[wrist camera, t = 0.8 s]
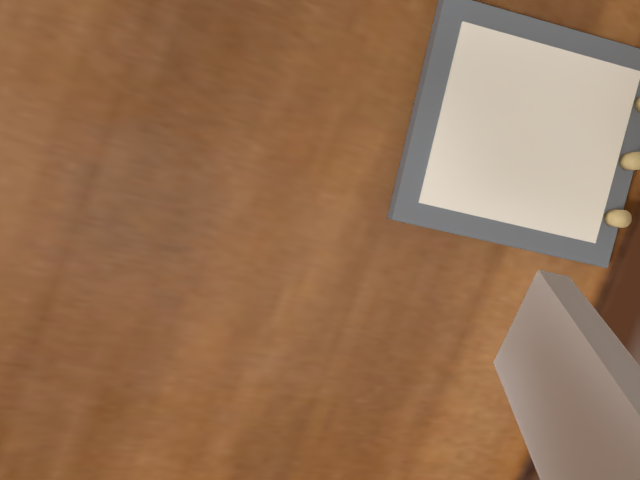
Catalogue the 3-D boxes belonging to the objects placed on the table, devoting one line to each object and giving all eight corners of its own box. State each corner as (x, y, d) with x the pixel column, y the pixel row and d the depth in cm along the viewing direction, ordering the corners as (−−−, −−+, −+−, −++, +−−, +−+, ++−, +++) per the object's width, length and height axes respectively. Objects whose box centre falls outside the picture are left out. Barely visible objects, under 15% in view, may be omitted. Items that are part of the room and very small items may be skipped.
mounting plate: (438, 0, 35) (452, -15, 32) (650, 60, 37) (678, 51, 35) (386, 218, 36) (396, 220, 34) (595, 265, 38) (618, 270, 36)
